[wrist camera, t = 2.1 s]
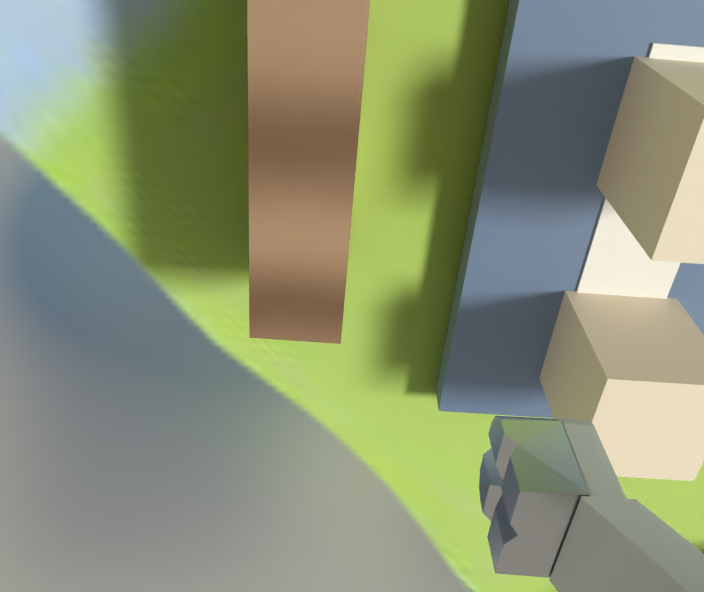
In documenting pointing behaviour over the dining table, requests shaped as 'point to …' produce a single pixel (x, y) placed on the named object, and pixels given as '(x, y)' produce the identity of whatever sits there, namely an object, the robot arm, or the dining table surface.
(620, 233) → the board
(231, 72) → the dining table surface
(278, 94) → the walnut beam
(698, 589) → the robot arm
